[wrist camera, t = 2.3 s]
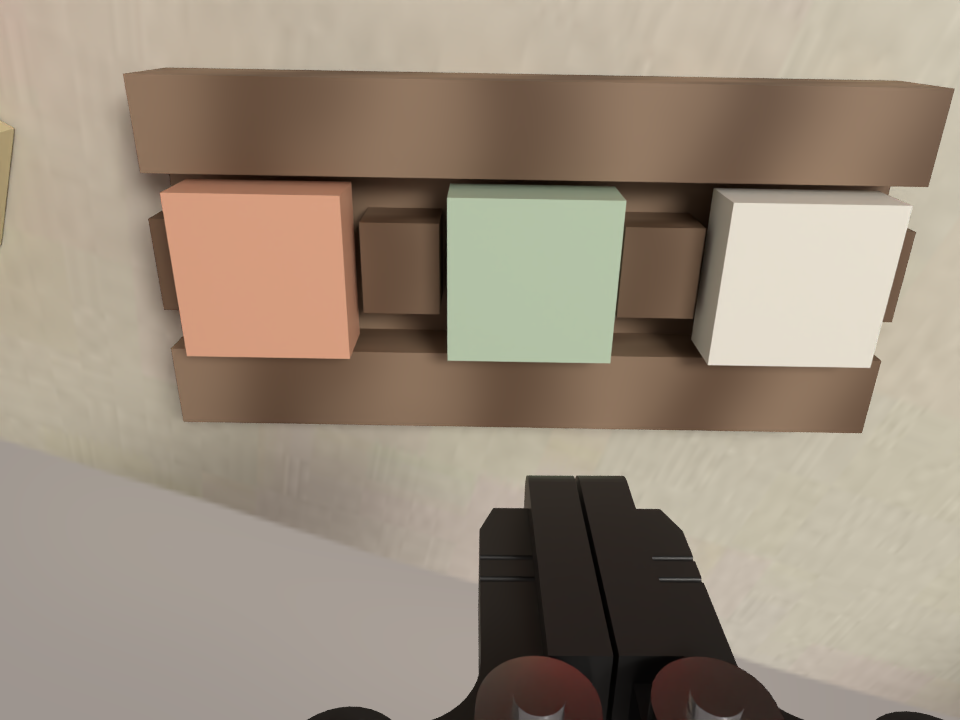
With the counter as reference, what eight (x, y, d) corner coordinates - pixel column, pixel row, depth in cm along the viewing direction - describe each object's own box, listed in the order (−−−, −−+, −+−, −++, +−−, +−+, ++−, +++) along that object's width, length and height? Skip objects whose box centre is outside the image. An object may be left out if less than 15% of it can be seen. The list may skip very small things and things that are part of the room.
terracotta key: (351, 181, 22) (339, 195, 20) (359, 333, 24) (349, 358, 23) (186, 178, 22) (159, 192, 20) (209, 331, 24) (186, 356, 23)
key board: (899, 80, 23) (954, 88, 20) (824, 392, 28) (861, 433, 25) (165, 67, 23) (123, 74, 20) (213, 382, 28) (183, 421, 25)
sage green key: (614, 186, 22) (626, 200, 20) (600, 338, 24) (610, 363, 23) (450, 183, 22) (447, 197, 20) (450, 335, 24) (447, 360, 23)
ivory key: (878, 190, 22) (913, 205, 20) (841, 341, 24) (870, 367, 23) (713, 188, 22) (733, 202, 20) (691, 339, 24) (707, 365, 23)
